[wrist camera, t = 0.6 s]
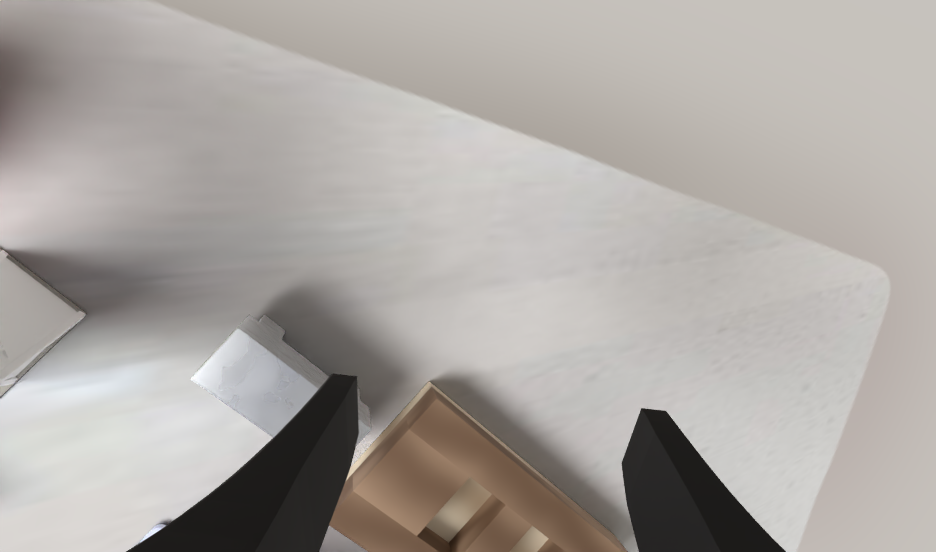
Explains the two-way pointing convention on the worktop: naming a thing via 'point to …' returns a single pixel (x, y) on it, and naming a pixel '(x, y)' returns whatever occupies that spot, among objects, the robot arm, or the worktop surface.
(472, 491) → the wooden slotted board
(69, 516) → the worktop surface
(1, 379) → the skyscraper
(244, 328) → the grey block
